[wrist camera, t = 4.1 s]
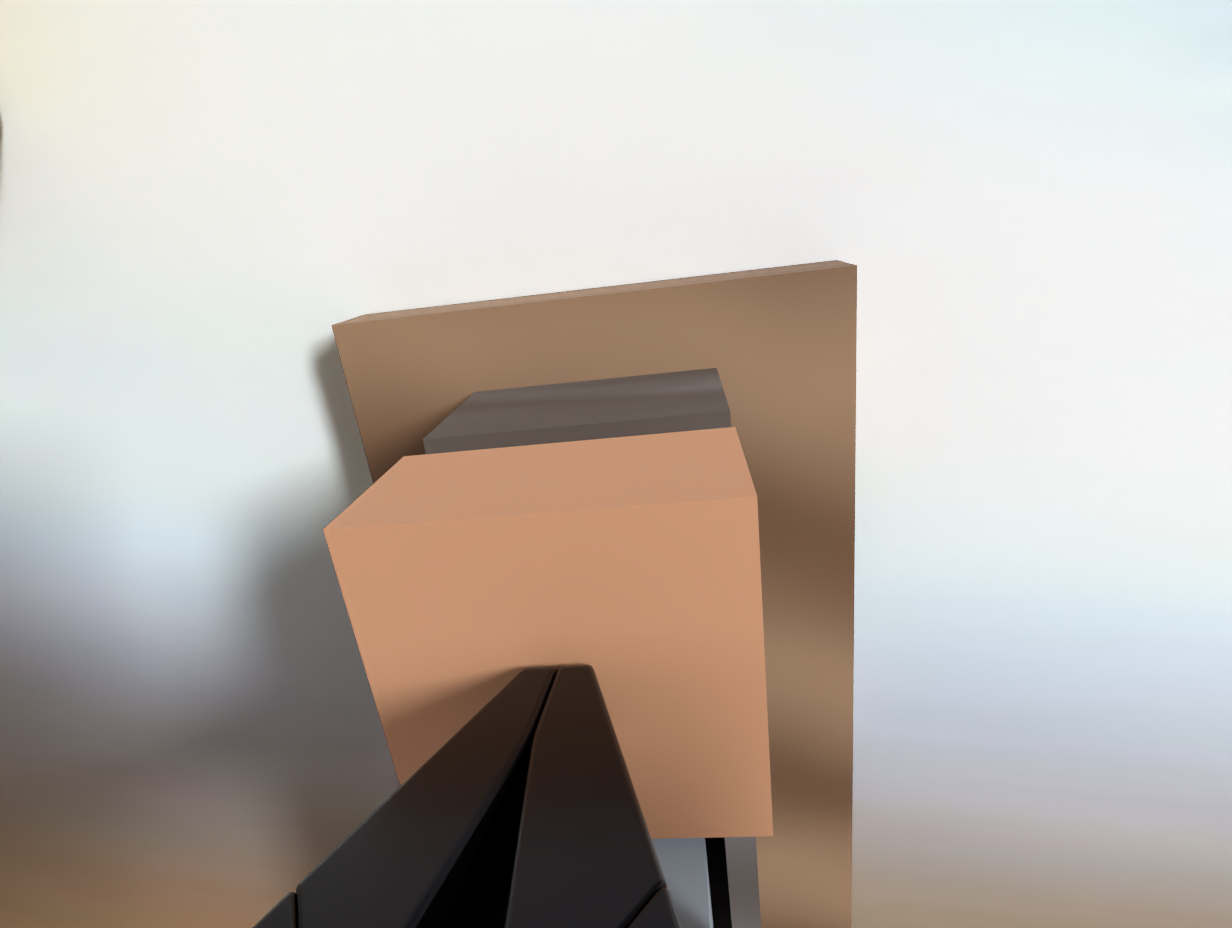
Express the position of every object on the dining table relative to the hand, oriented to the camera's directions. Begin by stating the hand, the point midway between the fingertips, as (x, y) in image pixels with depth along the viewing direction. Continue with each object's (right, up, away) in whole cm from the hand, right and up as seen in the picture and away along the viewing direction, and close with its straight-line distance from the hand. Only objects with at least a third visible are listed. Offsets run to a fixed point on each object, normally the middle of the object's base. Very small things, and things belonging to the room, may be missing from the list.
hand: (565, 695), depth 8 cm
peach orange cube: (0, +2, +5) cm, 5 cm away
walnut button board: (+2, -5, +10) cm, 11 cm away
